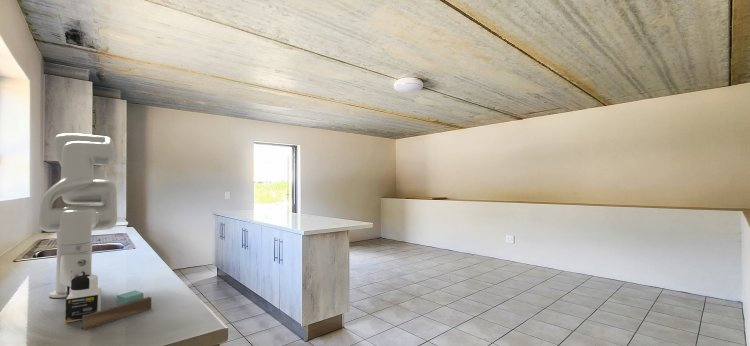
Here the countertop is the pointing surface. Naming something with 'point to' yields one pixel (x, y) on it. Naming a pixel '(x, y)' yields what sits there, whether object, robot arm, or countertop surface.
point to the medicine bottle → (83, 297)
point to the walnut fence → (115, 313)
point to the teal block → (129, 297)
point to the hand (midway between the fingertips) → (73, 307)
